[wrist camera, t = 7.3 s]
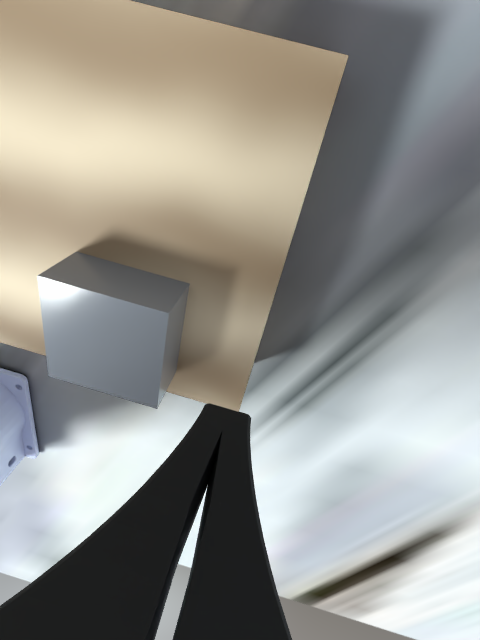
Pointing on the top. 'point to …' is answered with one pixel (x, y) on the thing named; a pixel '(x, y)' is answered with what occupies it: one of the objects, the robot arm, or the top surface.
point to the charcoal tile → (112, 327)
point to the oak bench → (157, 165)
